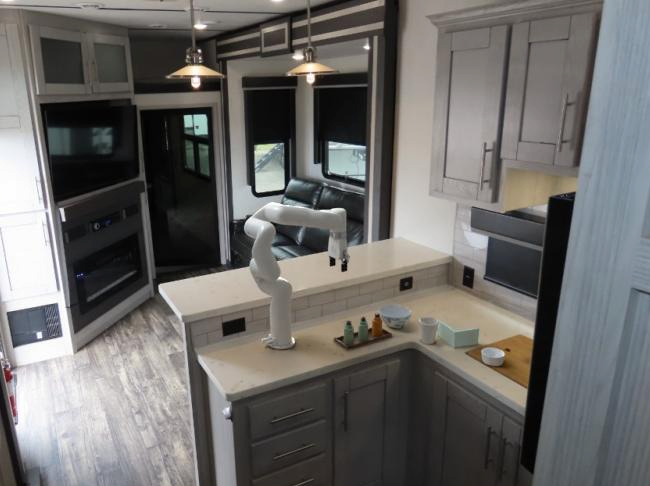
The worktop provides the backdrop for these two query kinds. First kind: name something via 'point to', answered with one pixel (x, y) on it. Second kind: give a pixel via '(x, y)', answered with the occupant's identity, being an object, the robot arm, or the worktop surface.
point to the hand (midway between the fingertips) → (338, 268)
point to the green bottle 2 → (363, 329)
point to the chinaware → (395, 315)
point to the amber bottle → (377, 325)
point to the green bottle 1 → (348, 333)
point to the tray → (359, 343)
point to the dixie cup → (428, 329)
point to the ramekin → (492, 356)
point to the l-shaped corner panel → (458, 336)
